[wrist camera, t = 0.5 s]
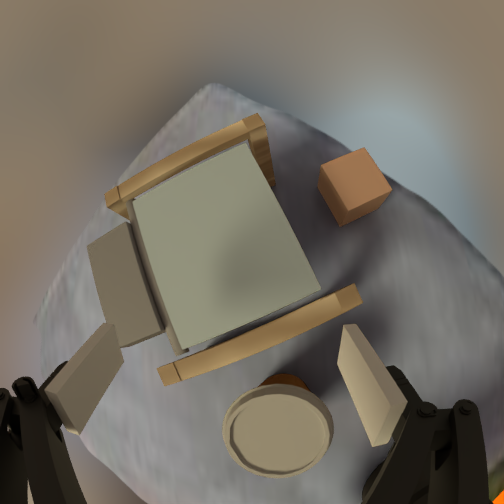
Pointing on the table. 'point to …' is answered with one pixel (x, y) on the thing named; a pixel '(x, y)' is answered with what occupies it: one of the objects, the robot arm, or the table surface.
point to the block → (352, 186)
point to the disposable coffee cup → (278, 428)
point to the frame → (260, 150)
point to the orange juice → (499, 499)
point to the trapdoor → (200, 256)
